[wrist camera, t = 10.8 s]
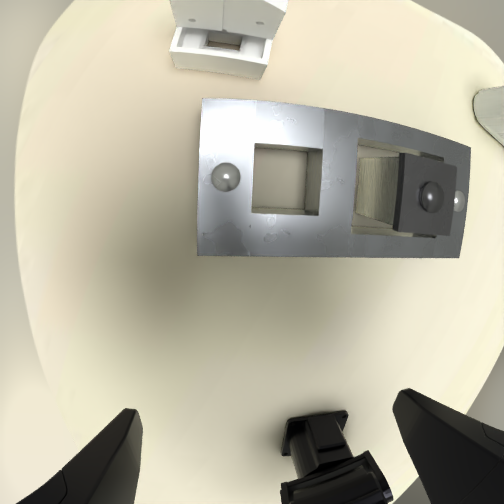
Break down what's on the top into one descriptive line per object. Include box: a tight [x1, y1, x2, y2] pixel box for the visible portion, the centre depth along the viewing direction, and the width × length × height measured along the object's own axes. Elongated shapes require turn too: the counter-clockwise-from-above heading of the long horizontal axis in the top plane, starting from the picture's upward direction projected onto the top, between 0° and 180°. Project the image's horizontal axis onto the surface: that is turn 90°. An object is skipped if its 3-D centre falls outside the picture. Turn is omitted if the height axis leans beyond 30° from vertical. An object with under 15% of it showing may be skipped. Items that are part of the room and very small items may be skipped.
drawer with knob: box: [355, 153, 457, 236], centre depth 17 cm, size 4×4×6 cm
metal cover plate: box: [197, 98, 471, 258], centre depth 18 cm, size 9×20×3 cm, turn 87°
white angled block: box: [169, 0, 288, 80], centre depth 13 cm, size 4×10×9 cm, turn 80°
